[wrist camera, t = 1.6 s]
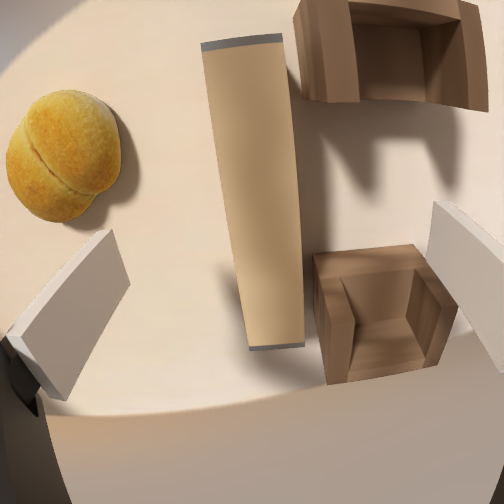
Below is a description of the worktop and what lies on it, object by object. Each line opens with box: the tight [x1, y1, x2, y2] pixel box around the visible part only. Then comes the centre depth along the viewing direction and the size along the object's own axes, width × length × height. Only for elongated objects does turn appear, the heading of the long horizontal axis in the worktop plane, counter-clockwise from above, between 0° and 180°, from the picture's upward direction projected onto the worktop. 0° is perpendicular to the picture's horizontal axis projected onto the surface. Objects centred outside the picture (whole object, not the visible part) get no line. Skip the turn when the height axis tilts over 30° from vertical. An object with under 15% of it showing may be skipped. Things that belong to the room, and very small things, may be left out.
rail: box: [200, 33, 305, 351], centre depth 16 cm, size 3×16×6 cm, turn 7°
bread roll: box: [6, 90, 121, 223], centre depth 16 cm, size 8×9×4 cm
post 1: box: [293, 0, 488, 112], centre depth 12 cm, size 7×5×7 cm
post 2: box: [313, 244, 459, 385], centre depth 19 cm, size 7×5×7 cm
